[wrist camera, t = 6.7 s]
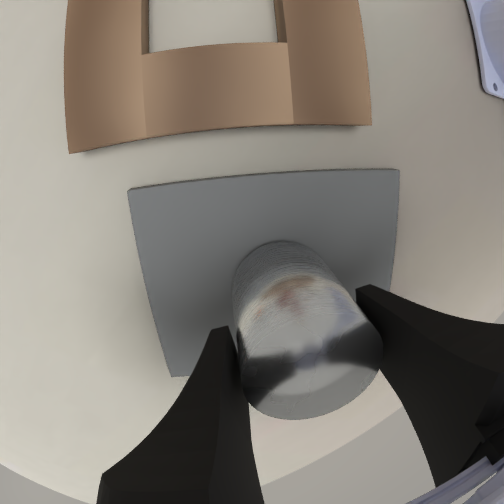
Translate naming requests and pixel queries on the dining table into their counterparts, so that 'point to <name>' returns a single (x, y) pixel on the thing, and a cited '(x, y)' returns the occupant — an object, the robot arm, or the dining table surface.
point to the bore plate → (210, 74)
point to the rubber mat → (254, 241)
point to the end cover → (300, 334)
